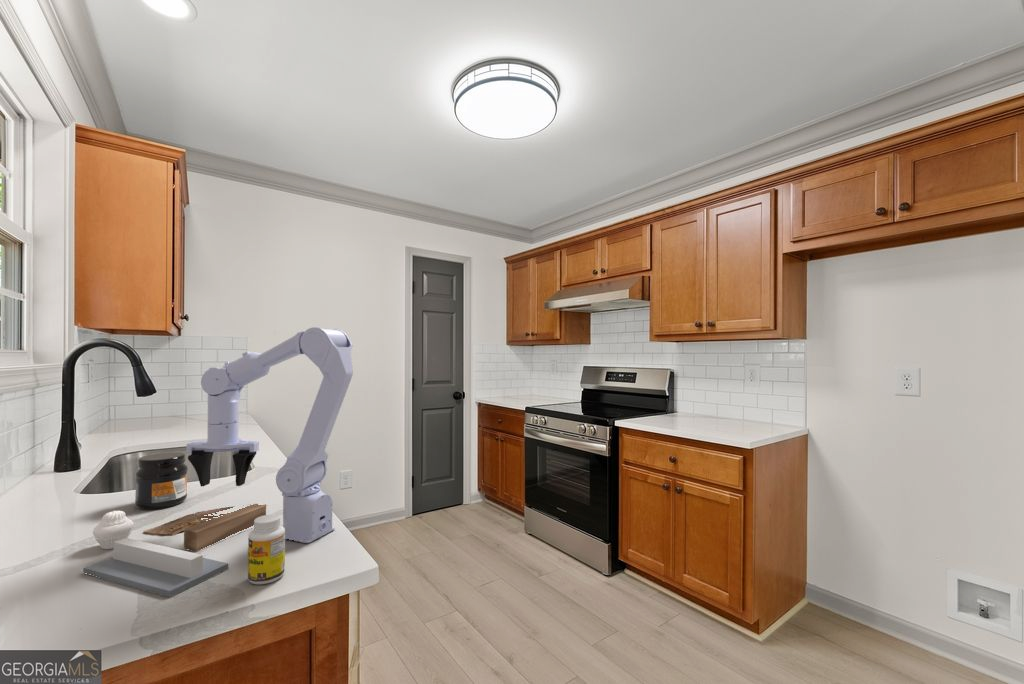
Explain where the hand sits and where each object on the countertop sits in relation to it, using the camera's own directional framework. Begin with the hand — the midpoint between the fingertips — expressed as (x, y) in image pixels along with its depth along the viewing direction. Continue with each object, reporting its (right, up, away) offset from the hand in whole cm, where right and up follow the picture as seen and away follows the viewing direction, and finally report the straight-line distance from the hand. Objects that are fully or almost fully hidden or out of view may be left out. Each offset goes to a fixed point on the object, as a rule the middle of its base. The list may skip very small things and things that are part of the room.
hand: (222, 484), depth 100 cm
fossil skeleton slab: (-6, -10, +6) cm, 13 cm away
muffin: (-16, -10, -9) cm, 21 cm away
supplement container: (-25, -10, +15) cm, 31 cm away
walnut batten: (+3, -10, -3) cm, 11 cm away
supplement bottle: (+21, -10, -21) cm, 32 cm away
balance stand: (0, -9, -19) cm, 21 cm away
